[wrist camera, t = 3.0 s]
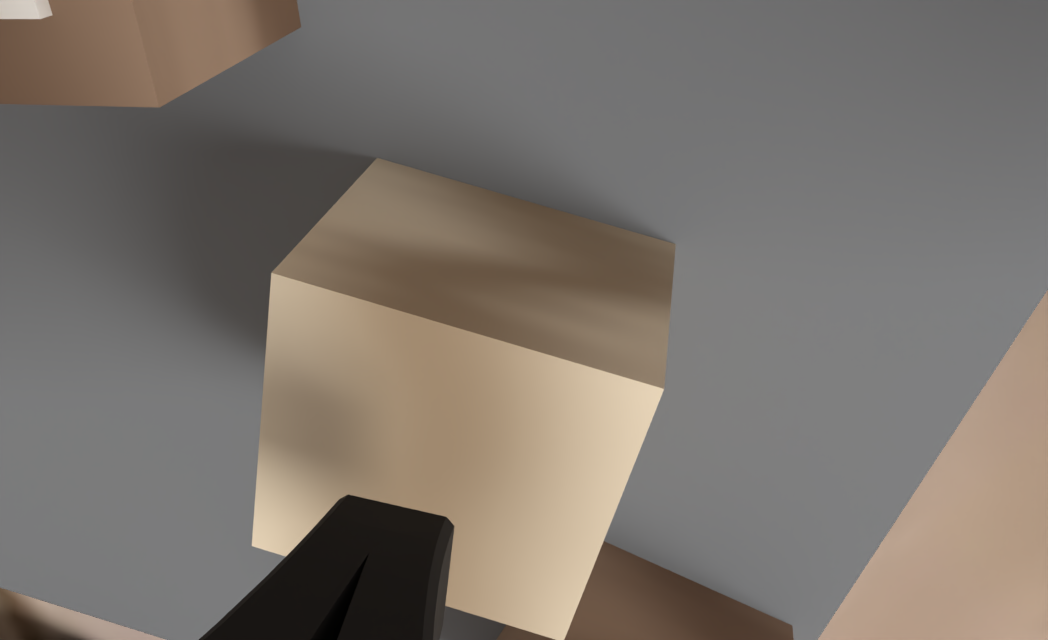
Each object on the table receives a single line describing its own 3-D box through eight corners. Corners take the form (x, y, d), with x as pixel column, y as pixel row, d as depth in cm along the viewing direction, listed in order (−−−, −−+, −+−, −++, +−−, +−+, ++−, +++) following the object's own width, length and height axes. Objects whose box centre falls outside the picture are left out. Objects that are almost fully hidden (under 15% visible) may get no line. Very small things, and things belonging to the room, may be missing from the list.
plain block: (675, 244, 14) (664, 388, 10) (593, 469, 16) (562, 642, 13) (377, 157, 14) (271, 272, 11) (344, 394, 17) (251, 545, 13)
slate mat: (1492, -425, 9) (1522, -434, 8) (706, 793, 22) (706, 808, 21) (-324, -881, 10) (-362, -907, 9) (-37, 560, 22) (-48, 572, 22)
